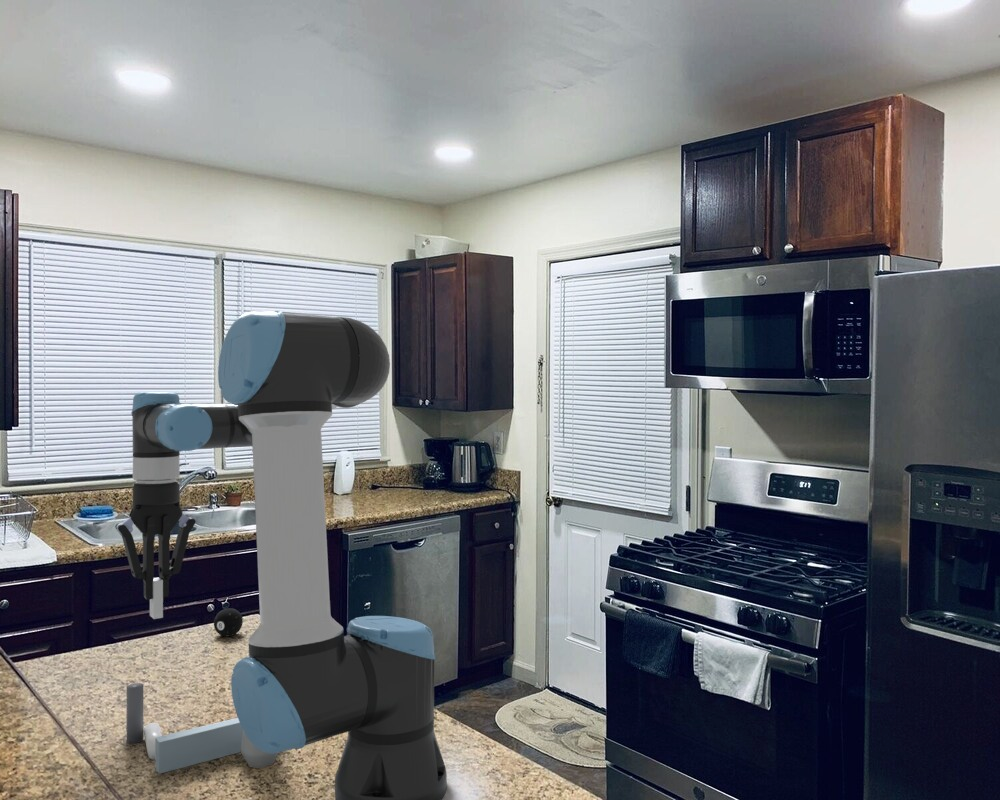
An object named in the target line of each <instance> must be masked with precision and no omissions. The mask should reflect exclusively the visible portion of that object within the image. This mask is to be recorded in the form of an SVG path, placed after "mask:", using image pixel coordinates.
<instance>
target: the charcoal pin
mask: <svg viewBox="0 0 1000 800" xmlns="http://www.w3.org/2000/svg"><path fill="white" fill-rule="evenodd" d="M143 740H144V683H140V682H136V683H130V684H128V685H127V686H126V743H127V744H130V743H131V744H132V743H133V744H137V743H138V744H139V743H140V741H141V742H143Z"/></svg>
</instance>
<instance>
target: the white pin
mask: <svg viewBox="0 0 1000 800" xmlns="http://www.w3.org/2000/svg"><path fill="white" fill-rule="evenodd" d="M162 733H163V732H162V729H161V726H160V725H159V723H157V722H150V723H148V724H146V726H144V727H143V737H144V740H145V745H146V751H147V757H148V758H149V759H150V760H153V761H155V738H156V737H160V736H163V734H162Z"/></svg>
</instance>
